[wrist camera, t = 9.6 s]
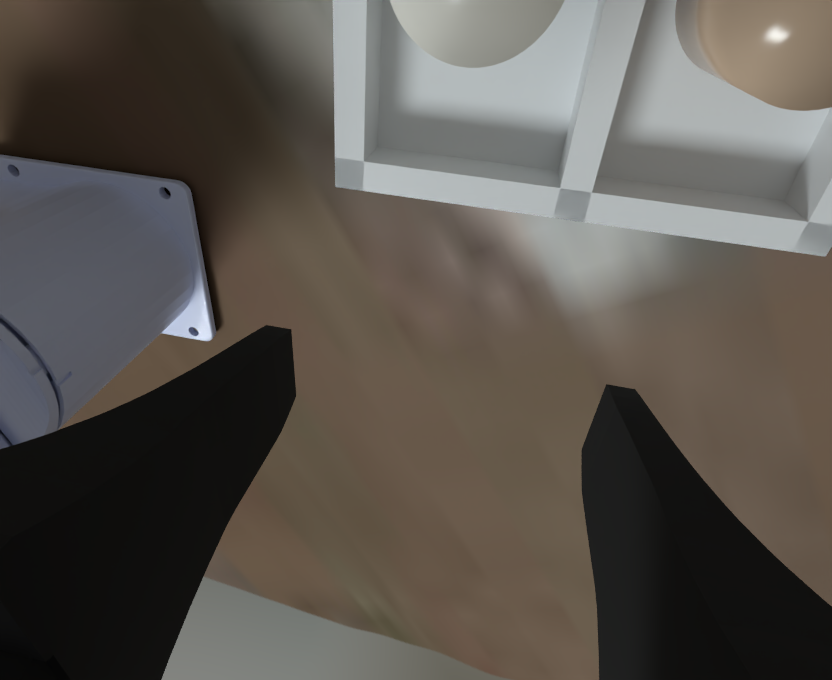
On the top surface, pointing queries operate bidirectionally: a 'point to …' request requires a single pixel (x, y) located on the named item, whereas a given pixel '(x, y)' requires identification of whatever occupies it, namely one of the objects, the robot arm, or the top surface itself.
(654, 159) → the holder
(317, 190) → the top surface
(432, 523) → the top surface
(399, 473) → the top surface
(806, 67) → the brown egg
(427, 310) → the top surface
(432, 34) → the cream egg
